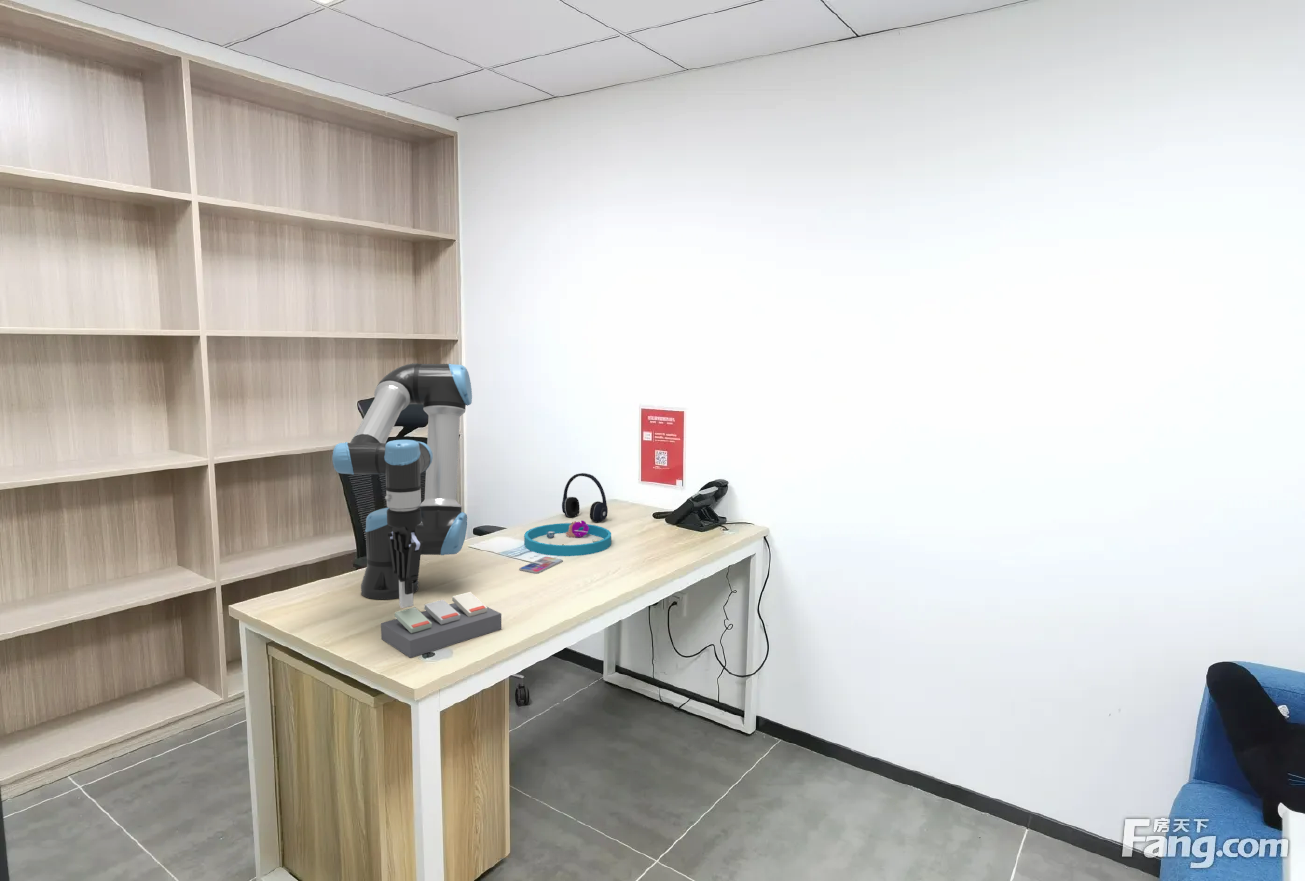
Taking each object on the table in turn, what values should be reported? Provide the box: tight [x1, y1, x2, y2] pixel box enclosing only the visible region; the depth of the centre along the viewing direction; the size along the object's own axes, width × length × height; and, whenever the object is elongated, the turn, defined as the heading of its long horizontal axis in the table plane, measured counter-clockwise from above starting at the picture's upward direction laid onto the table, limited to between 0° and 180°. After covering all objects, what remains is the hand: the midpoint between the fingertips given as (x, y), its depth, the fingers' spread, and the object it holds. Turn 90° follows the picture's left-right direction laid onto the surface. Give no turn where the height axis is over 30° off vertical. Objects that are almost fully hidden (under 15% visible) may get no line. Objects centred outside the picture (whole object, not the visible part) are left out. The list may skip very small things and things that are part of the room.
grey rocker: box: [423, 599, 460, 625], centre depth 177 cm, size 8×5×1 cm, turn 46°
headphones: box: [561, 472, 609, 523], centre depth 290 cm, size 20×7×18 cm, turn 57°
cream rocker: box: [451, 591, 488, 617], centre depth 182 cm, size 8×5×1 cm, turn 46°
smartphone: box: [518, 556, 564, 575], centre depth 232 cm, size 7×1×15 cm
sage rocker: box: [394, 606, 432, 633], centre depth 171 cm, size 8×5×1 cm, turn 46°
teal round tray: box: [523, 520, 612, 557], centre depth 257 cm, size 30×30×6 cm
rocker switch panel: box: [380, 602, 502, 659], centre depth 179 cm, size 19×24×5 cm
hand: (406, 605), depth 173 cm, fingers closed
